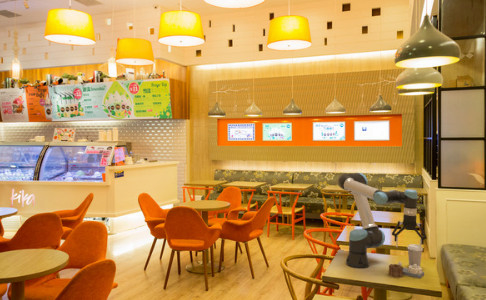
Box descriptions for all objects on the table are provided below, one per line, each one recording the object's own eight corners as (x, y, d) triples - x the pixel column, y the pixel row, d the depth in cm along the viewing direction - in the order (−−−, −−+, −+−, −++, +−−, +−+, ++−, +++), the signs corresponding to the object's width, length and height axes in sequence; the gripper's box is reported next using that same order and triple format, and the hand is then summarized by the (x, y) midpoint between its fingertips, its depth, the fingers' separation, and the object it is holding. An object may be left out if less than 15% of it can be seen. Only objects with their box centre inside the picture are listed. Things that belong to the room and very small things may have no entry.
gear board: (390, 271, 255) (390, 261, 254) (395, 268, 261) (395, 258, 261) (419, 278, 243) (419, 267, 243) (424, 275, 250) (424, 264, 249)
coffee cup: (423, 271, 257) (424, 248, 257) (408, 269, 259) (408, 247, 259) (420, 266, 267) (421, 244, 266) (405, 265, 269) (406, 243, 268)
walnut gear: (387, 275, 247) (387, 266, 247) (391, 272, 253) (392, 263, 253) (399, 278, 242) (400, 268, 242) (404, 275, 248) (404, 265, 248)
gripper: (388, 213, 248) (387, 246, 249) (432, 217, 238) (430, 252, 239) (388, 211, 255) (387, 243, 256) (431, 215, 245) (429, 249, 246)
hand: (408, 248), depth 248 cm, fingers open, 13 cm apart
